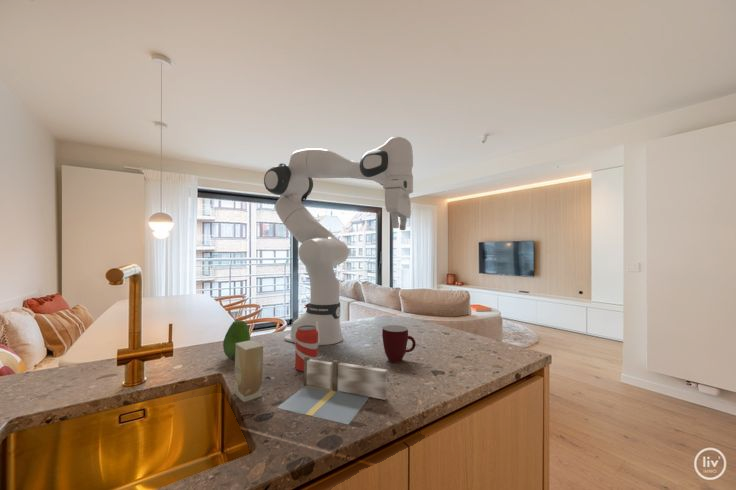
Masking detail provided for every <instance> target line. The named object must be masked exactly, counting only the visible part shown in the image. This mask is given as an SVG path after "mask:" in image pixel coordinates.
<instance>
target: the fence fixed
mask: <svg viewBox="0 0 736 490" xmlns="http://www.w3.org/2000/svg"><path fill="white" fill-rule="evenodd" d="M331 361H332V362H331ZM331 361H326V360H319V359H318V360H313V359H310V356H305V357H304V371H303V387H304V386H307V385H311V386H316V387H322V388H327V389H331V388H332V391H338V364H339V360H337V359H334V360H331Z"/></svg>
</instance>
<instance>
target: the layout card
mask: <svg viewBox="0 0 736 490" xmlns="http://www.w3.org/2000/svg"><path fill="white" fill-rule="evenodd" d="M369 399H370V397H368V396H363V395H358V394H353V393H347V392H342V391H332V388H331V389H327V388H322V387H316V386H311V385H307V386H304V385H303V387H301V388H300V389H299V390H298V391H296V392H295V393H293V395H291V396H289V397H288V398H287V399H285V401H283V402H282V403H281V404H279V405H278V406H277V407H276V409H279V410H284V411H288V412H292V413H296V414H300V415H305V416H310V417H314V418H318V419H322V420H327V421H331V422H334V423H338V424H343V425H346V426H347V425H348V426H349V425H350V424H351V422H352V420H353V419H354V418H355V417H356V415H358V413H359V412H360V411H361V409H362V408H363V406H365V404H366V402H368V400H369Z"/></svg>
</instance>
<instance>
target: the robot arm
mask: <svg viewBox="0 0 736 490" xmlns="http://www.w3.org/2000/svg"><path fill="white" fill-rule="evenodd" d="M412 146H413V145H412V143H411V142H410V141H409V140H408V139H407V138H405V137H404V138H403V137H401V136H393V137H390V138H388V140H386V142H385V143H384V144H382V145H381V146H379V147H377V148H374V149H372V150H368V151H366V152H364V154H362V156H361V158H360V161H354V160H351V159H349V158H346V157H344V156H342V155H340V154H338V153H336V152H334V151H332V150H329V149H326V148H325V149H324V148H318V147H317V148H310V147H309V148H303V149H299V150H295V151H294V152H292V154H291V156H290V159H289V162H288V164H285V163H284V162H281V163H279V164H278V165H275V166H273V167H271V168H269V169H268V170H267V171H266V172H265V174H264V178H263V184H264V187H265V189H266V190H267V191H268V192H269V193H271V194H273V195H277V196H280V197H279V198H278V199H277V200H276V203H275V205H274V208H275V212H276V213H277V215H278V218H279V219H280V221H281V222H282V224H283V225H284V226H285V228H286V229H287V230H288V231H289V232H290V233H291V235H292V236H293V237H294V239H295V240H296V241H297V242H299V243H300V246H299V248H298V257H299V259H300V261H301V263H302V264H303V265H304V267H305V268H306V272H307V274H308V278H309V285H310V289H309V290H310V296H309V297H310V300H309V301H310V302H309V303H307V304H305V305H303V306H304V307H303V308H304V309H306V310H305V311H306V312H304V313H303V314H301V316H299V317H298V318H297V319H295V320H294V321H293V323H292V325H291V328H290V333H288V334H286V335H284V341H285V342H286V341H287V342H290V343H295V344H296V332H297V330H298V327H300V326H304V325H312V326H315V327H316V330H317V331H318V347H319V346H325V345H326V346H327V345H333V344H338V343H341V342H342V341H343V340H344V337H343V334H342V333H343V332H342V327H341V302H340V281H339V279H338V278H337V276H336V274H335V269H334V267H336V266H338V265H341V264H343V263H344V262H346V260H347V259H348V257H349V253H350V252H349V251H350V249H349V247H348V245H347V244H346V242H343V241H342V240H341V239H339V238H337V236H335V235H334V234H333V233H332V232H330V230H329V229H327V228H326V227H324V226H323V224H321V223H320V222H319V221H318V220H317V219H316V217H314V216H313V214H312V213H311V212H310V211H309V210H308V209H307V207H305V205H304V204H303V202H304V201H306V200H307V199H308V197H309V196H310V194H311V193H312V190H313V188H314V181H313V180H314V179H358V180H365V181H367V180H368V181H373V182H376V183H377V184H379V185H380V186H382V187H383V189H384V207H385V211H386V212H387V213H389V214H390V218H391V222H392V223H391V224H392V225H391V227H392V228H393V229H399V230H400V231H406V229H407V228H406V227H407V225H406V224H407V221H408V219H409V218H411V216H412V215H411V214H412V213H411V197H410V194H412V193H413V192H414V176H413V171H412V170H413V167H414V156H413V155H414V154H413V151H414V150H413V147H412ZM399 221H400V222H399Z"/></svg>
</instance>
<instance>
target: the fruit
mask: <svg viewBox="0 0 736 490" xmlns="http://www.w3.org/2000/svg"><path fill="white" fill-rule="evenodd" d="M249 340H251V334H250V331H249V326H248V324H247V323H246V322H245V321H244V320H241V319H237V320H235V321H233V322H231V324H230V326H229V328H228V329H227V332H226V334H225V336H224V338H223V341H222V342H223V343H222V346H223V347H222V348H223V352H224V354H225V356H226V357H227V358H228V359H231V360H233V361H235V348H236V343H240V342H244V341H249Z"/></svg>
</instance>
